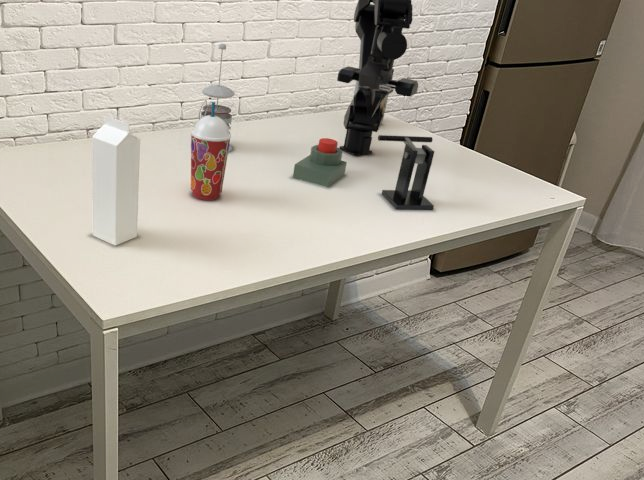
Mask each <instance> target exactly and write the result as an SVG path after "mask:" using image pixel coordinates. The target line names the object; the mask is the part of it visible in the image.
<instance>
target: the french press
mask: <svg viewBox="0 0 644 480" xmlns="http://www.w3.org/2000/svg"><path fill="white" fill-rule="evenodd" d="M218 49H219V50H221V53H220V63H219V64H220V66H219V77H218V84H213V85H212V84H211V85H208V86H206V87H204V88H203V89H202V90H201V92H202V94H203V96H206V97H210V98H214V99H217V100H216V104H215V111H214V115H215V116H217V117H219V118H221V119H222V120H223V121H224V122H225V123H226V125H227V126H228V129H229V132H230V133H231V126H230V125H232V118H233V115H232V114H230V113H231V112H232V109H231V108H230V107H228V106H225V105H220V104H219V99H229V98H233V97H234V96H235V94H236V93H235V92H234V91H233V90H232V89H231V88H229V87H227V86H226V85H221V75H222V74H221V73H222V61H223V51H224V50H227V45H226V44H225V43H219V45H218ZM212 102H213V101H210V102H209V103H208V100H207V99H205V100H204V101H203V102H202V104H201V105H200V109H199V112H198V120H200V119H201V118H202V117H204V116H208V115H211V109H212ZM204 104H205V105H204ZM202 110H203V111H202ZM231 151H233V146H232V145H231V144H230V143H229V150H228V153H231Z"/></svg>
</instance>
